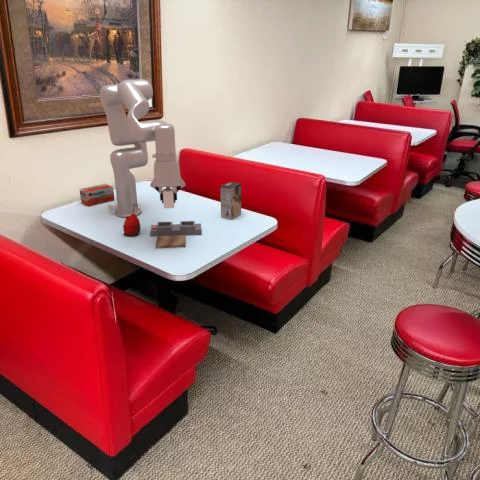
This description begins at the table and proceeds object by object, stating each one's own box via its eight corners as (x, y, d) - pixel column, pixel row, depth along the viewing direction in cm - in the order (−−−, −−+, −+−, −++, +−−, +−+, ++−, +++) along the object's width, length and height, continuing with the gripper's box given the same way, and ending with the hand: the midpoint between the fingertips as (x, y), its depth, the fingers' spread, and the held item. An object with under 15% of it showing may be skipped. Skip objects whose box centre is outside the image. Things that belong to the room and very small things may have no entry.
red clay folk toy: (133, 229, 194) (129, 197, 188) (144, 232, 191) (142, 200, 185) (120, 235, 188) (117, 202, 182) (132, 238, 185) (129, 205, 179)
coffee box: (230, 212, 216) (230, 181, 209) (241, 214, 213) (242, 183, 206) (220, 217, 209) (220, 185, 202) (231, 220, 205) (231, 188, 199)
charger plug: (163, 208, 173) (162, 188, 170) (164, 204, 177) (163, 185, 173) (174, 207, 173) (172, 188, 170) (174, 204, 177) (173, 185, 174)
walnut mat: (155, 248, 177) (155, 245, 176) (157, 238, 186) (157, 236, 185) (185, 247, 178) (185, 244, 178) (185, 237, 187) (185, 235, 187)
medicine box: (107, 197, 235) (105, 182, 232) (115, 200, 230) (113, 186, 226) (81, 203, 225) (78, 188, 222) (88, 207, 220) (86, 192, 217)
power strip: (150, 236, 187) (150, 228, 186) (151, 230, 194) (151, 221, 192) (201, 234, 190) (201, 226, 188) (201, 228, 196) (200, 220, 194)
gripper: (143, 159, 162) (147, 205, 170) (187, 158, 164) (189, 204, 172) (145, 155, 169) (148, 199, 177) (187, 154, 171) (189, 198, 179)
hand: (168, 201), depth 174 cm, fingers closed on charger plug, 4 cm apart
